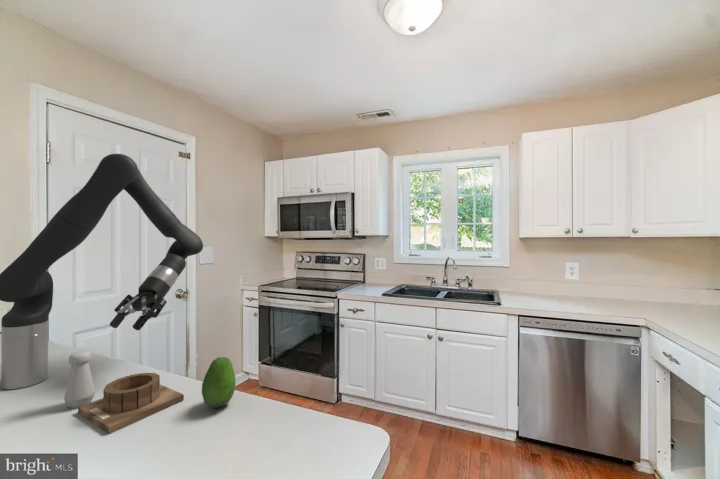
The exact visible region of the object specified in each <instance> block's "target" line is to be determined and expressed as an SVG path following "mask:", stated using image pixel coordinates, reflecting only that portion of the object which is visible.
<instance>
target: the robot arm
mask: <svg viewBox="0 0 720 479" xmlns="http://www.w3.org/2000/svg"><path fill="white" fill-rule="evenodd" d="M122 191H125V192H126V193H127V194H128V195H129V196H131V198H132V199H133V200H134V201H135V202H136V204H137V205H138V207H139V208H140V209H141V211H142V212H143V213H144V215H145V216H146V217H147V219H148V220H149V221H150V222H151V223H152V224H153V225H154V227H155V228H156V229H157V230H158V231H159V232H160V233H161V234H162V235H163V236H164V237H166V238H172V239H174V241H173V243H172V244H171V245H170V247H169V248H168V250H167V252H166V255H165V257H164V258H163V259H162V260H161V262H160V263H159V264H158V265H157V266H156V267H155V268H154V269H153V270H152V271H151V272H150V273H149V275H148V276H147V277H146V278H145V280H143V282H142V283H141V284H140V285H139V287H138V288H137V289H138V293H137V294H136V295H135V296H132V295H131V294H127V295H126V296H124V298H123V299H122V301H121V302H120V303H119V304H118V305H117V306H116V307H115V308H114V310H113V311H114V312H116V315H115V317H113V319H112V320H111V321H110V323H109V326H110V327H112V328H113V329H117V328H118V327H119V326H120V325H121V324H122V322H123V321H124V320H125V318H126V317H127V316H129V315H130V314H135V313H136V312H141V315H139V317H138V318H137V320H136V321H135V322H134V324H133V325H132V328H133V329H134V330H135V331H140V330H141V329H142V328H143V327H144V326H145V325H146V323H147V322H148V321H149V320H150V319H152V318H153V319H155V318H157V317H158V316H159V315H160V313H161V312H162V310H163V309H164V307H165V305H166V304H167V300H166V299H165V297H166V295H167V294H168V293H169V291H170V290H171V289H172V287H173V286H174V285H175V283H176V281H177V280H178V278H179V277H180V275H181V273H183V271H184V270H185V268H186V266H187V262H186V259H187V258H188V257H190V256H194V255H195V256H196V255H198V254H200V253H201V252H202V251H203V248H204V243H203V240H202V239H201V237H200V236H199V235H198V234H197V233H196V232H194V231H193V230H192V229H191V228H189V227H188V226H186V225H185V224H183V223H182V221H181V220H180V219H179V218H178V217H177V216H176V215H175V213H174V212H173V211H172V210H171V209H170V208H169V207H168V205H167V204H166V203H165V202H164V201H163V200H162V199H161V198H160V197H159V196H158V195H157V194H156V192H155V191H154V190H153V188H152V187H151V186H150V185H149V184H148V182H147V181H146V179H145V177H144V176H143V174H142V173H141V170H140V169H139V167H138V165H137V163H136V162H135V161H134V159H132V157H130V156H128V155H126V154H123V153H111V154H107V155H105V156H104V157H103V158H102V159H101V160H100V162H99V164H98V165H97V166H96V168H95V170H94V172H93V173H92V175H91V176H90V178H89V179H88V181H87V182H86V184H85V185H84V186H83V187H82V188H81V189H80V190H79V191H78V192H77V193H76V194H75V195H73V196H72V197H71V198H69V199H68V200H67V202H65V203H64V204H63V205H62V207H61V208H60V209H59V210H57V212H56V213H55V214H54V215H53V217H51V219H50V220H49V221H48V223H47V224H46V225H45V227H44V228H43V229H42V230H41V231H40V232H39V233H38V234H37V236H36V237H35V238H34V239H33V240H32V241H31V243H30V244H29V245H28V246H27V248H26V249H25V250H24V251H23V252H22V253H21V254H20V255H19V256H18V257H17V258H16V259H15V260H13V261H12V262H11V263H10V264H9V265H8V266H7V267H6V268H4V269H3V271H2V272H0V301H1V302H4V303H13V305H12V307H11V308H10V309H9V310H8V311H7V313H5V314H4V315H3V316H2V317H1V323H0V324H1V327H0V328H1V331H0V333H1V336H0V337H1V358H0V359H1V362H0V365H1V367H0V369H1V372H0V373H1V374H0V375H1V376H0V379H1V383H0V386H1V387H0V388H1V390H16V389H22V388H26V387H30V386H33V385H37V384H39V383H42V382H43V381H46V380H47V379H48V378H49V314H50V313H51V310H52V308H53V299H54V298H53V297H54V280H53V277H52V275H51V273H50V272H49V271H48V270H49V269H50V267H52V265H53V264H54V263H56V262H57V261H58V260H60V259H61V258H63V257H64V256H66V255H67V254H68V253H70V252H71V251H73V250H74V249H76V248H77V247H78V246H80V245H81V244H82V243H83V242H84V241H85V240H86V239H87V237H88V236H89V235H90V234H91V233H92V232H93V230H95V227H97V225H98V224H99V222H100V221H101V219H102V218H103V216H104V214H105V213H106V212H107V209H108V207H109V206H110V205H111V203H112V202H113V201H114V200H115V198H116V197H117V196H119V194H120V193H121V192H122Z"/></svg>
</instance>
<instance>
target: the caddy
mask: <svg viewBox="0 0 720 479" xmlns="http://www.w3.org/2000/svg"><path fill="white" fill-rule="evenodd" d="M160 376H161V375H160V374H158V373H155V372H139V373H134V374H133V373H132V374H130V375H125V376H122V377H120V378H116V379H115V380H112V381H110V382H109V383H108V384H106V385H105V386H104V388H103V396H102V397H101V398H99V399H96V400H94V401H93V400H92V401H91V402H90V403H88V404H85V405H82V406H80V407H78V408H77V413H78V414H79V415H80V416H81V417H83V418H84V419H86V420H87V421H89V422H90V423H92V424H94V425H95V426H96V427H98V428H99V429H100V430H102V431H103V432H105V433H106V434H108V435H110V434H113V433H115V432H116V431H119V430H121V429H123V428H126V427H128V426H130V425H133V424H135V423H137V422H139V421H141V420H143V419H145V418H148V417H150V416H152V415H155V414H157V413H159V412H162V411H163V410H165V409H168V408H169V407H172V406H174V405H177V404H179V403H182V402H183V401H185V398H184V397H185V394H183V393H181V392H178V391H176V390H174V389H171V388H169V387H168V386H165V385H162V384H161V383H160V381H161V380H160Z"/></svg>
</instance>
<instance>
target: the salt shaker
mask: <svg viewBox="0 0 720 479" xmlns="http://www.w3.org/2000/svg"><path fill="white" fill-rule="evenodd" d="M91 360H92V352H91V350H90V351H89V350H80V351H76V352H73V353H71V354H70V355H69V356H68V363H69V364H70V365H71V367H70V371H69V377H68V380H67V381H68V382H67V386H66V391H65V395H64V402H65V404H66V405H67V407H68V408H70V409H78V407H80V406H82V405H85V404H88V403H91V402H93V398H94V396H95V394H96V388H95V383H94V379H93V376H92V371H91V367H90V361H91Z"/></svg>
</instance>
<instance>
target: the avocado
mask: <svg viewBox="0 0 720 479" xmlns="http://www.w3.org/2000/svg"><path fill="white" fill-rule="evenodd" d="M235 390H236V374H235V370H234V366H233V362H232V361H231V360H230V358H228V357H225V356H223V357H220V356H219V357H217V358H215V359H213V361H211V363H210V365H209V368H207V371H206V373H205V375H204V378H203V381H202V384H201V394H202V395H201V396H202V399H203V403H204V404H206V406H208V407H210V408H214V409H218V408H221V407H223V406H225V405H227V404H228V403H230V401H231V400H232V399H233V396H234V394H235Z"/></svg>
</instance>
